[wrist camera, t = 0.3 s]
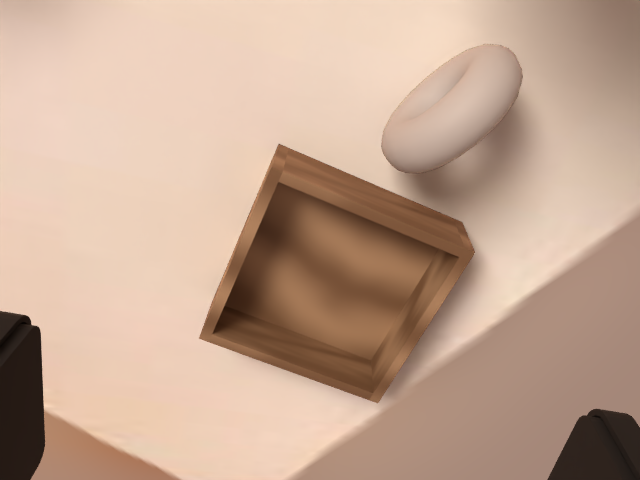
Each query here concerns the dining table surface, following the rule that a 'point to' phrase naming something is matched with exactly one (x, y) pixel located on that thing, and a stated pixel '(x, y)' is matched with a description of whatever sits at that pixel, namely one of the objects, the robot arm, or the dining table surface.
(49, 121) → the dining table surface
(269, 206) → the walnut box
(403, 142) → the donut
